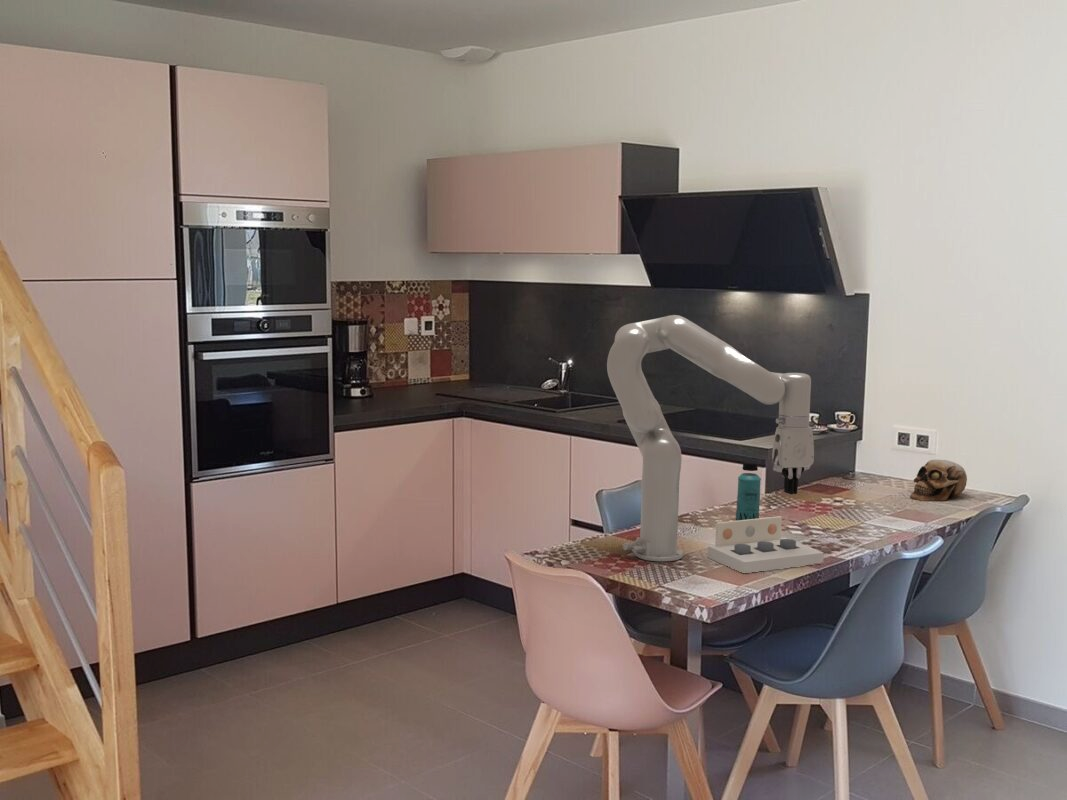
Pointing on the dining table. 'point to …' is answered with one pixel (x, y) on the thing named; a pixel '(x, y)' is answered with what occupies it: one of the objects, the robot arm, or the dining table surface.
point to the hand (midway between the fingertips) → (790, 493)
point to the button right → (787, 544)
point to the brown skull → (939, 481)
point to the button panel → (751, 535)
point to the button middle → (765, 546)
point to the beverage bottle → (748, 493)
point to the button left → (742, 549)
